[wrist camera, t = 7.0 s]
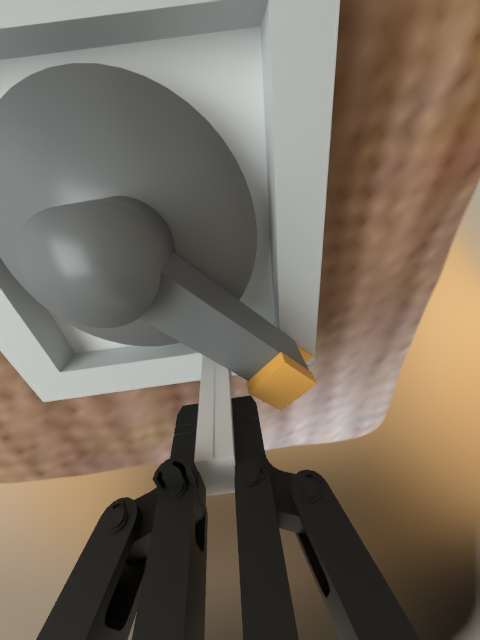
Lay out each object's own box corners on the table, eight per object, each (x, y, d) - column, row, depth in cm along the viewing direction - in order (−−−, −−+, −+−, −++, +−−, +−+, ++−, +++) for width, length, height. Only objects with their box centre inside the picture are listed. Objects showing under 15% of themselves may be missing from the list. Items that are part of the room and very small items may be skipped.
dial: (-23, 253, 13) (-185, 303, 8) (65, -21, 9) (-177, -334, 3) (221, 383, 20) (222, 456, 15) (343, 268, 15) (409, 315, 10)
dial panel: (-156, 16, 10) (-365, -74, 6) (306, -43, 10) (354, -162, 7) (72, 364, 20) (41, 404, 17) (298, 333, 21) (315, 365, 17)
